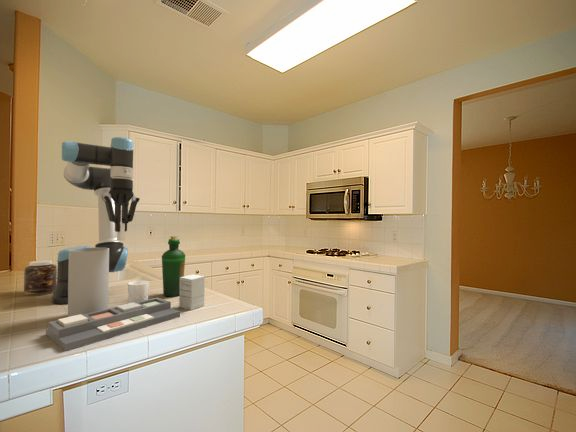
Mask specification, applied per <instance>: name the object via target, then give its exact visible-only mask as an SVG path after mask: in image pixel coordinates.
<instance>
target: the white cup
mask: <svg viewBox="0 0 576 432" xmlns="http://www.w3.org/2000/svg"><path fill="white" fill-rule="evenodd" d="M149 289H150V281H149V280H142V279H141V280H133V281H130V282H128V283H127V294H128V295H127V296H128V297H127V299H128V303H133V302H134V303H135V302H139V301H144V300H148V299H149V291H150V290H149Z"/></svg>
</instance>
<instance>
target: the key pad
mask: <svg viewBox="0 0 576 432" xmlns="http://www.w3.org/2000/svg"><path fill="white" fill-rule="evenodd" d="M154 301H156V302H159V303H160V304H156V305H152V306H148V307H147V306H145V305H142V304H146V303H150V302H154ZM135 303H137V304H139V305H141V308H140V309H136V310H132V311H128V312H124V313H123V312H121V311H119V310H116V306H114V307H108V309H104V310H100V311H95V312H91V313H87V314H82V315H83V316H85V317H86V318H88V321H87V322H83V323H79V324H75V325H71V326H67V327H62V326H60V325H59V324H58V319H57V320H52V321H48V327H46V328H45V335H46V336H47V337H48V338H49V339H51V341H53V342H54V343H55V344H57V346H59V348H61V349H62V350H63V351H64V352H68V351H71V350H75V349H79V348H80V347H84V346H88V345H91V344H95V343H97V342H100V341H104V340H107V339H111V338H114V337H117V336H120V335H123V334H127V333H130V332H134V331H137V330H140V329H144V328H147V327H150V326H154V325H156V324H159V323H160V324H161V323H163V322H166V321H170V320H174V319H176V318H179V317H181V316H180V315H181V311H180V310H177V309H174V308H172V307H171V305H172V302H171V301H169V300H167V299H166V300H165V299H163V298H160V297H153V298H148V300H144V301H139V302H135ZM108 312H109V313H111V314H113V315H111V316H107V317H103V318H99V319H94V318H92V317H91V316H95V315H99V314H103V313H108Z"/></svg>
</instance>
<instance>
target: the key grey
mask: <svg viewBox="0 0 576 432" xmlns="http://www.w3.org/2000/svg"><path fill="white" fill-rule="evenodd" d="M115 307H116V310H119V311H121V312H123V313H124V312H128V311H132V310H136V309H140V308H141V305H139V304H137V303H134V302H133V303H129V302H128V303H124V304H120V305H116V306H115Z"/></svg>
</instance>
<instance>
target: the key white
mask: <svg viewBox="0 0 576 432" xmlns="http://www.w3.org/2000/svg"><path fill="white" fill-rule="evenodd" d="M57 320H58V324H59V325H60V326H62V327H67V326H71V325H75V324H79V323H83V322H87V321H88V318H86V317H85V316H83V315H81V314H79V315H75V316H71V317H68V316H67V317H61V318H59V319H58V318H57Z"/></svg>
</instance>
